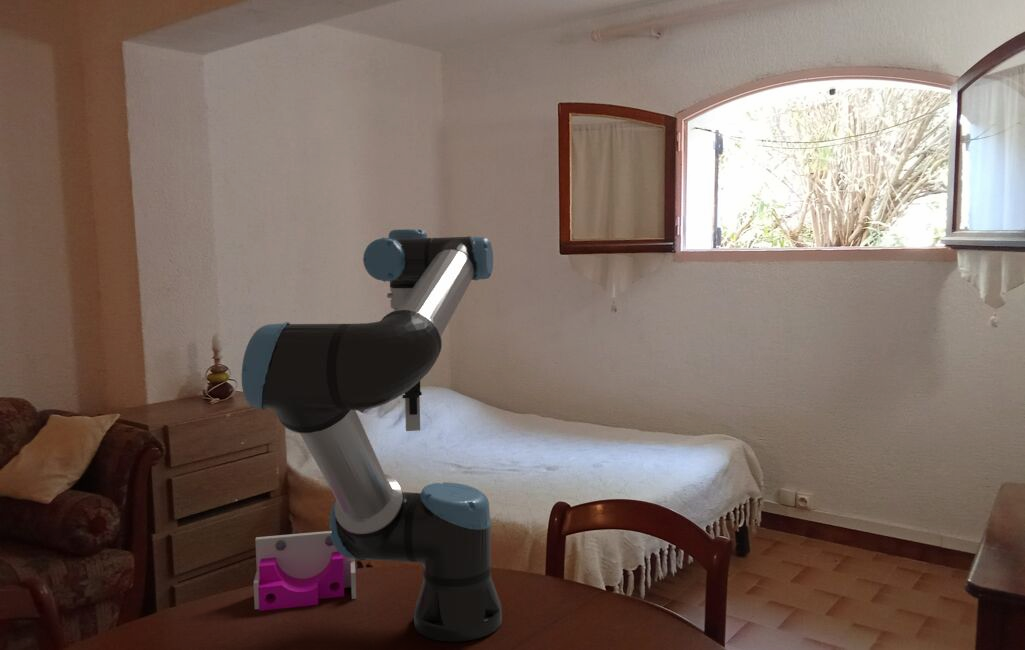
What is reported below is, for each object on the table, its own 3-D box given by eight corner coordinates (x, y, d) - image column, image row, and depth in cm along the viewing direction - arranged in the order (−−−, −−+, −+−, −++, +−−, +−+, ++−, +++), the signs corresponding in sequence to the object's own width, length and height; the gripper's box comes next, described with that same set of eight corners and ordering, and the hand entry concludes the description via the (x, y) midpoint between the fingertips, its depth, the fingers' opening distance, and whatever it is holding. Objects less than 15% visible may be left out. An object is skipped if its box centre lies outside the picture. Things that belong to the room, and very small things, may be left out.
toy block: (259, 611, 141) (257, 571, 140) (262, 597, 147) (260, 558, 147) (344, 602, 144) (343, 563, 144) (344, 589, 150) (342, 551, 150)
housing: (356, 598, 145) (354, 541, 144) (254, 609, 141) (252, 550, 141) (355, 584, 152) (353, 528, 151) (258, 594, 148) (256, 537, 147)
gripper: (388, 308, 157) (391, 424, 159) (392, 312, 144) (396, 438, 146) (425, 307, 159) (428, 422, 161) (433, 311, 146) (436, 435, 148)
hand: (413, 429), depth 153 cm, fingers closed
